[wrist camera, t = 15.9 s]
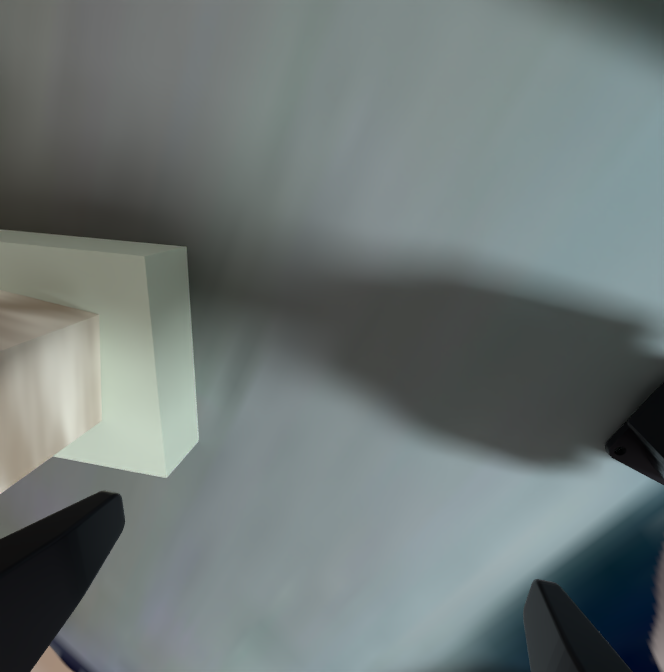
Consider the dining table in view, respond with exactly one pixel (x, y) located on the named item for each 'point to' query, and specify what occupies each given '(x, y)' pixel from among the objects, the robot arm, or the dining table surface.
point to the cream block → (45, 381)
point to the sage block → (121, 339)
